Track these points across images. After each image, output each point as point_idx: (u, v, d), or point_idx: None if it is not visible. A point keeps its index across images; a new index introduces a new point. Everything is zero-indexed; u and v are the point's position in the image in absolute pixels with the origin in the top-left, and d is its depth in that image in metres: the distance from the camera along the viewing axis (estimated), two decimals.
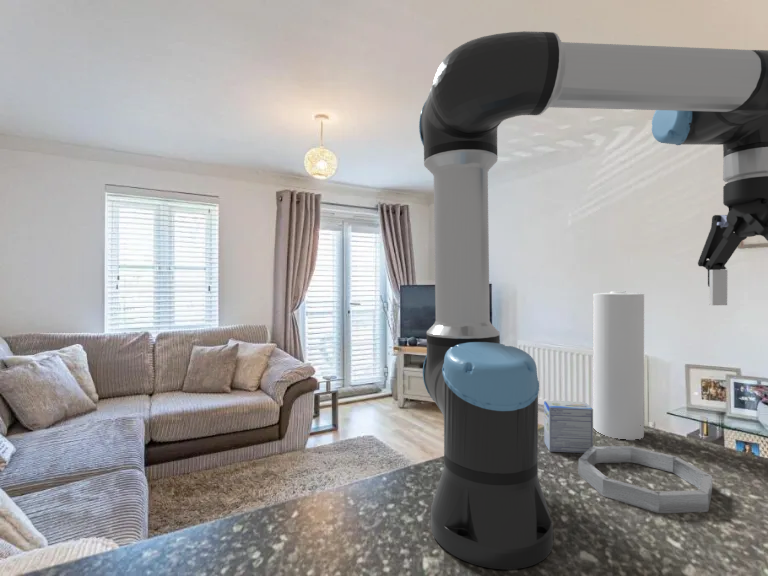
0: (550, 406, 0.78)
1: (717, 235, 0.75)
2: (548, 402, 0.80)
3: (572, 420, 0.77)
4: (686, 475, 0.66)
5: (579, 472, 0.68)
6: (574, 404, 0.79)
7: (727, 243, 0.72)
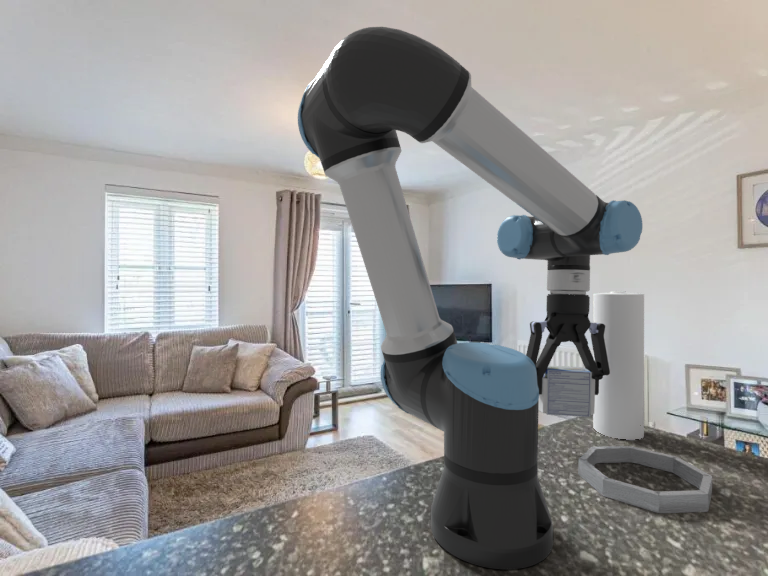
0: (548, 369, 0.78)
1: (593, 341, 0.80)
2: None
3: (570, 382, 0.77)
4: (686, 475, 0.66)
5: (579, 472, 0.68)
6: (573, 368, 0.79)
7: (577, 348, 0.80)
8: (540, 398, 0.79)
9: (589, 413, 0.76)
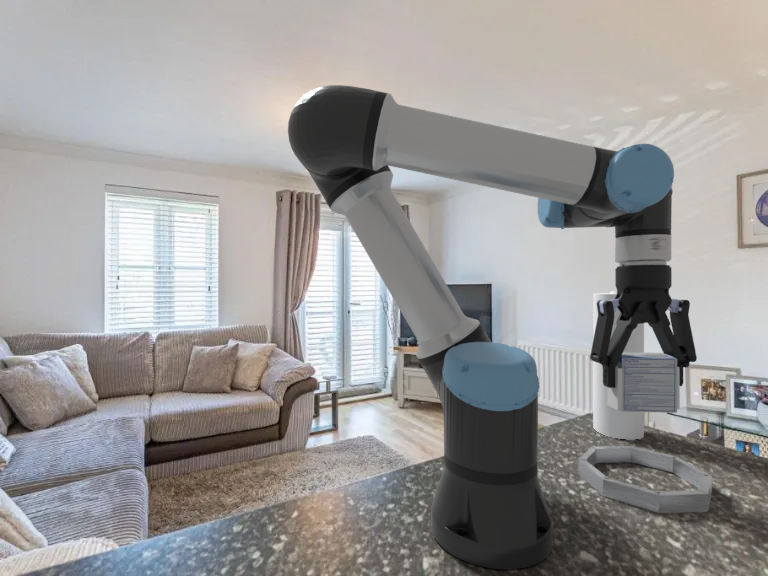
0: (623, 356, 0.64)
1: (674, 322, 0.66)
2: None
3: (650, 372, 0.63)
4: (686, 475, 0.66)
5: (579, 472, 0.68)
6: (651, 354, 0.65)
7: (654, 330, 0.67)
8: (613, 392, 0.65)
9: (675, 408, 0.63)
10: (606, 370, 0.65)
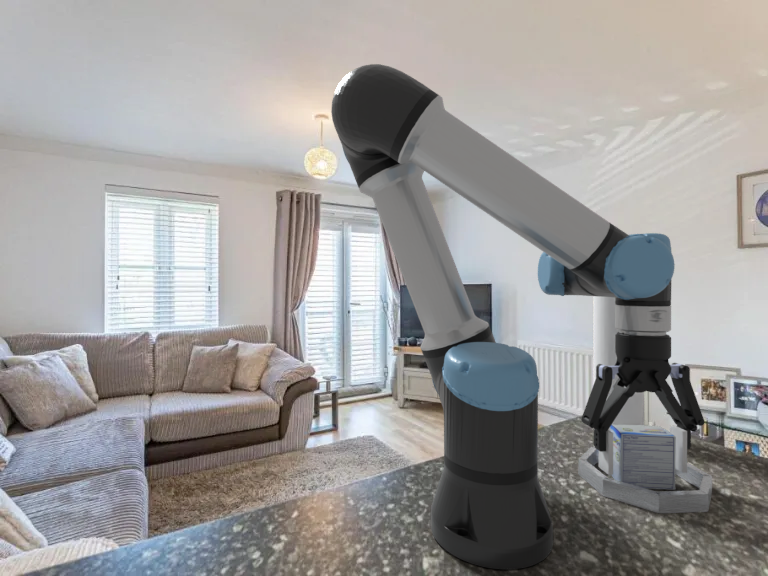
0: (622, 432, 0.64)
1: (676, 386, 0.66)
2: (617, 427, 0.67)
3: (649, 449, 0.63)
4: (686, 475, 0.66)
5: (579, 472, 0.68)
6: (650, 429, 0.65)
7: (657, 395, 0.67)
8: (604, 455, 0.65)
9: (673, 486, 0.63)
10: (597, 433, 0.65)
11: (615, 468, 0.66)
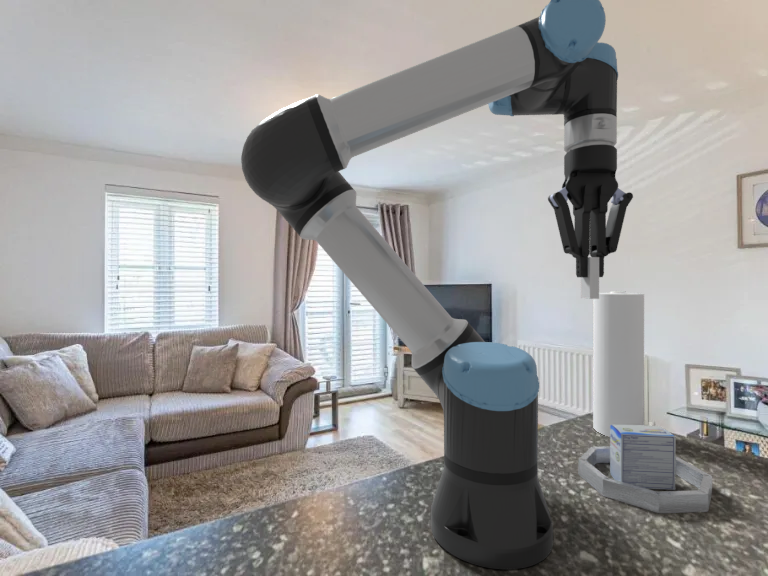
0: (622, 432, 0.64)
1: (611, 213, 0.66)
2: (617, 427, 0.67)
3: (649, 449, 0.63)
4: (686, 475, 0.66)
5: (579, 472, 0.68)
6: (650, 429, 0.65)
7: (590, 219, 0.67)
8: (585, 283, 0.66)
9: (673, 486, 0.63)
10: (579, 260, 0.65)
11: (615, 468, 0.66)
